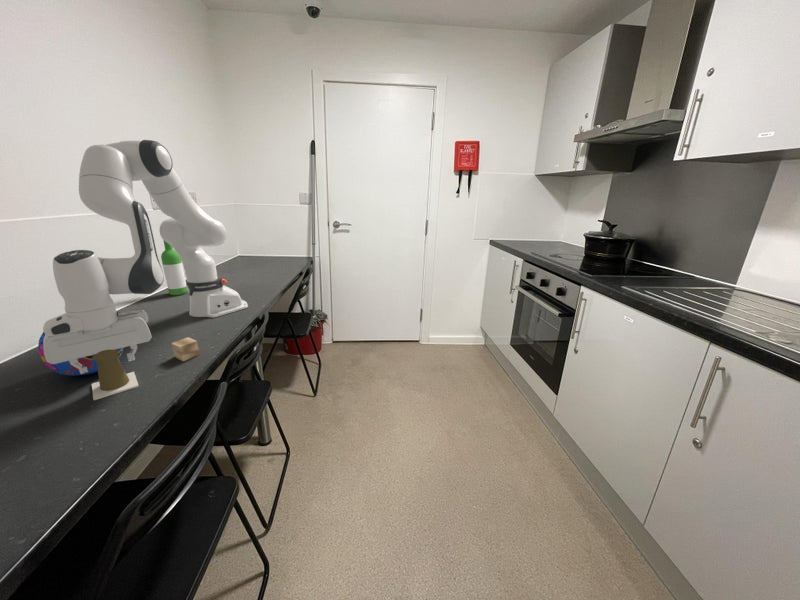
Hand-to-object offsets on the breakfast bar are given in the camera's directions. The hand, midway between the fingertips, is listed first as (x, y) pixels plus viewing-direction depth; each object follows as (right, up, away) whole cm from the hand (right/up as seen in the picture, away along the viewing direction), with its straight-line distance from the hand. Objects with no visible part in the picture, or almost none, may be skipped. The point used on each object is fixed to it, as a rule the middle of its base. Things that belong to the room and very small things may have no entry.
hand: (109, 365), depth 85 cm
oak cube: (+9, -1, +18) cm, 20 cm away
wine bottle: (-34, +20, +76) cm, 86 cm away
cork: (0, -5, +2) cm, 6 cm away
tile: (0, -6, +2) cm, 6 cm away
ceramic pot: (-13, -3, +10) cm, 17 cm away
